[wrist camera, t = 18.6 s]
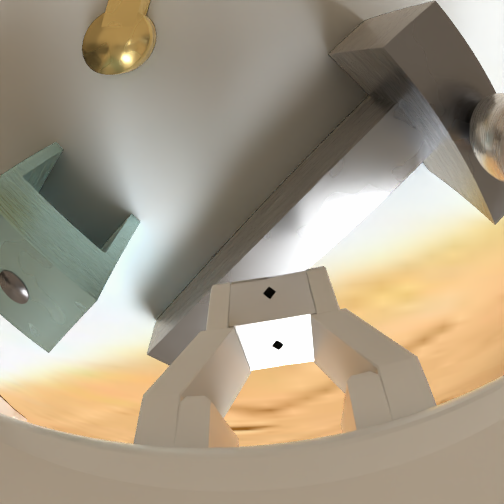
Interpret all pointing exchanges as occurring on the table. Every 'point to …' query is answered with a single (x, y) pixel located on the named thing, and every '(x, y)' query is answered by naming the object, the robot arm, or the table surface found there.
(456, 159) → the grey t-shaped bar
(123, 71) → the gold ball-headed pin
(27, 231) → the green knobbed cube
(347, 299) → the table surface
